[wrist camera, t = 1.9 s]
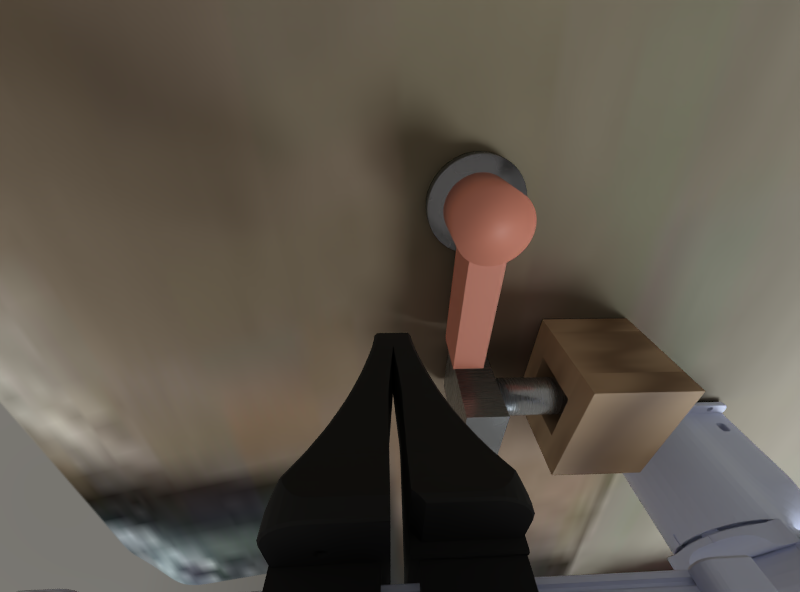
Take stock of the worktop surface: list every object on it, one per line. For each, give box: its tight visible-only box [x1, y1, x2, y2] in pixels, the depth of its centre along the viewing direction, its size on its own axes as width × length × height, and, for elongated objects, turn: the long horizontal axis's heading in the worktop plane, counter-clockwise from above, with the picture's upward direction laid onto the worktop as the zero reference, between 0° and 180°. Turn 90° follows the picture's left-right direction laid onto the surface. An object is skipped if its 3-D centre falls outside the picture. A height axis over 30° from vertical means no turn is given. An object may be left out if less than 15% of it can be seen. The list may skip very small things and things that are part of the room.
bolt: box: [444, 350, 568, 455], centre depth 21 cm, size 11×4×6 cm, turn 89°
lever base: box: [426, 151, 527, 251], centre depth 17 cm, size 5×5×1 cm
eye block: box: [524, 318, 705, 475], centre depth 21 cm, size 6×8×6 cm
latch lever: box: [443, 172, 537, 369], centre depth 17 cm, size 4×10×3 cm, turn 179°
